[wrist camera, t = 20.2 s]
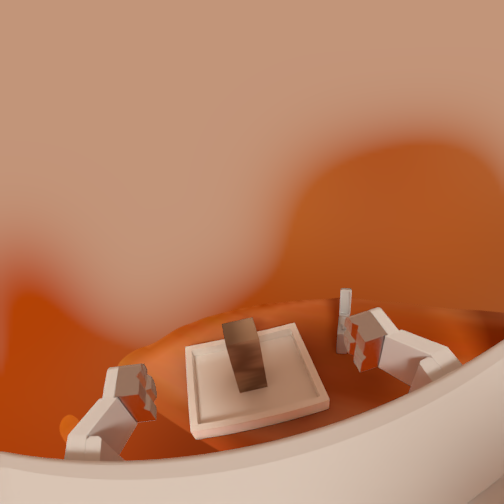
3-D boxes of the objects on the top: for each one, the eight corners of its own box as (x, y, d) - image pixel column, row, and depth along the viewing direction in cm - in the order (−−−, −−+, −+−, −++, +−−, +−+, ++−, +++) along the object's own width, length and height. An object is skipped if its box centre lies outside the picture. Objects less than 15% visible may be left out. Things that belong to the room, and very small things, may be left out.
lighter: (346, 353, 44) (350, 315, 41) (335, 353, 45) (338, 315, 41) (349, 323, 50) (351, 285, 46) (339, 322, 51) (340, 285, 47)
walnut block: (261, 366, 44) (252, 317, 39) (267, 386, 41) (259, 338, 36) (235, 372, 44) (221, 324, 39) (239, 393, 40) (225, 345, 35)
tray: (295, 333, 50) (294, 322, 49) (328, 408, 37) (329, 399, 35) (189, 356, 49) (185, 346, 47) (195, 439, 35) (190, 431, 34)
